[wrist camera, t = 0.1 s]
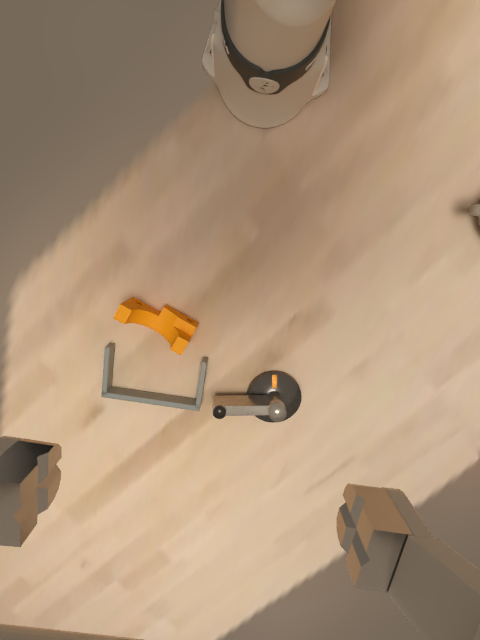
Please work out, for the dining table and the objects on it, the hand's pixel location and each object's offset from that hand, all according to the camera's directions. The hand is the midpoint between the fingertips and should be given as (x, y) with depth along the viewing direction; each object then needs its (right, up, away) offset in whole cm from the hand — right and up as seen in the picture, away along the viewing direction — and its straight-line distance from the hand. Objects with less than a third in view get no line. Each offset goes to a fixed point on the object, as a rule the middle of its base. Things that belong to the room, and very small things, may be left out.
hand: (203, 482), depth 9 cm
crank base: (+7, -10, +52) cm, 53 cm away
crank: (+3, -10, +51) cm, 52 cm away
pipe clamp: (-12, +5, +48) cm, 50 cm away
